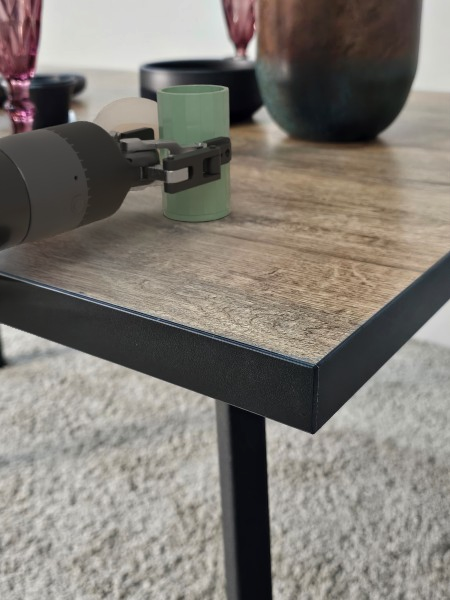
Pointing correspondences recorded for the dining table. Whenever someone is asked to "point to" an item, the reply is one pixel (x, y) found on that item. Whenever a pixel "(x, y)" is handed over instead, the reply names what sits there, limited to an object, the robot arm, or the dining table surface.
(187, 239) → the dining table surface
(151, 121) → the decorative bird
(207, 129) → the cup
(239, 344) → the dining table surface
